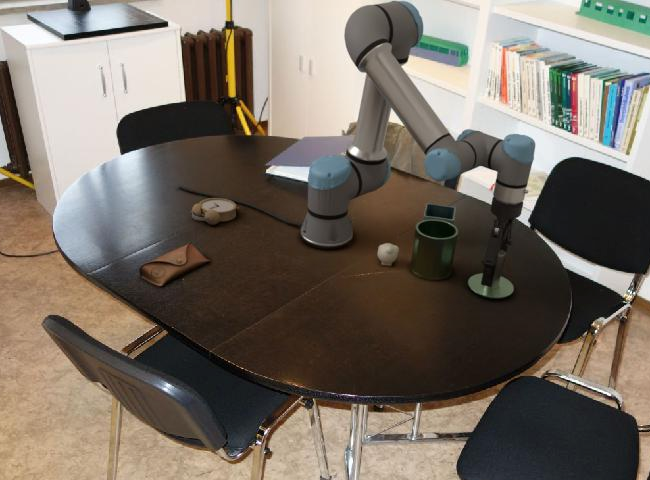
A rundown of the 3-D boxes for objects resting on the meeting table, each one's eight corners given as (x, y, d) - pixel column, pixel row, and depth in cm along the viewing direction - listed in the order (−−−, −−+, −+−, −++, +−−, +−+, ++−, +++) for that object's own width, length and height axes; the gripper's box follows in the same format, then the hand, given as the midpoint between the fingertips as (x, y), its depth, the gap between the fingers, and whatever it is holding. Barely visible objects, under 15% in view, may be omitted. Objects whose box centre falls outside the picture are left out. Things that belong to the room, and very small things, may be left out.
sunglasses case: (161, 286, 175) (150, 262, 173) (146, 290, 179) (135, 266, 178) (212, 260, 187) (202, 237, 185) (197, 264, 192) (187, 241, 190)
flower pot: (449, 247, 201) (454, 219, 196) (419, 243, 202) (423, 215, 197) (451, 233, 208) (456, 206, 203) (422, 229, 209) (426, 202, 204)
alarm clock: (244, 205, 210) (210, 214, 199) (242, 220, 212) (209, 230, 201) (217, 194, 215) (182, 202, 204) (215, 209, 217) (181, 218, 206)
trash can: (407, 276, 186) (412, 234, 179) (414, 256, 195) (419, 216, 188) (448, 283, 184) (455, 242, 177) (453, 263, 193) (460, 223, 186)
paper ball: (376, 266, 190) (377, 248, 186) (377, 256, 194) (379, 238, 191) (397, 268, 189) (399, 250, 186) (397, 258, 194) (400, 240, 191)
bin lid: (465, 296, 179) (472, 259, 173) (469, 273, 189) (476, 237, 183) (511, 304, 177) (520, 267, 171) (513, 281, 187) (522, 245, 181)
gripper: (511, 220, 159) (494, 300, 171) (534, 185, 176) (517, 260, 188) (479, 212, 161) (465, 291, 174) (505, 179, 179) (490, 253, 191)
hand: (492, 275), depth 181 cm, fingers open, 10 cm apart
